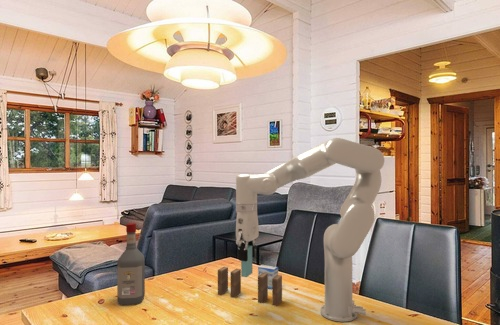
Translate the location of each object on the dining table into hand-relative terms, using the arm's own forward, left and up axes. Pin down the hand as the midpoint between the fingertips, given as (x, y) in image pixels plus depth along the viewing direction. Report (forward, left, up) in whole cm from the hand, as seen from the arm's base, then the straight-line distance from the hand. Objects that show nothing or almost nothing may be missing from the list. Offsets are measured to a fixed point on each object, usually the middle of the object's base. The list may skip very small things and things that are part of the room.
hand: (246, 258), depth 123 cm
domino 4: (-1, -12, -19) cm, 23 cm away
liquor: (+45, +11, -20) cm, 50 cm away
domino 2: (+11, -12, -19) cm, 25 cm away
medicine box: (+3, -26, -20) cm, 33 cm away
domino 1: (+17, -12, -19) cm, 28 cm away
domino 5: (-7, -12, -19) cm, 24 cm away
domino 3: (0, 0, -6) cm, 6 cm away
